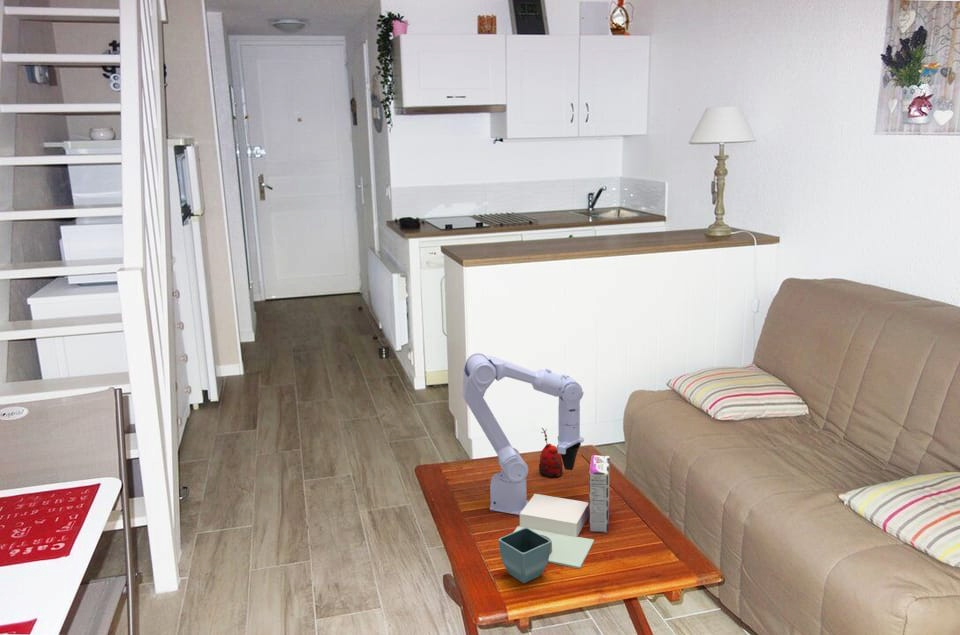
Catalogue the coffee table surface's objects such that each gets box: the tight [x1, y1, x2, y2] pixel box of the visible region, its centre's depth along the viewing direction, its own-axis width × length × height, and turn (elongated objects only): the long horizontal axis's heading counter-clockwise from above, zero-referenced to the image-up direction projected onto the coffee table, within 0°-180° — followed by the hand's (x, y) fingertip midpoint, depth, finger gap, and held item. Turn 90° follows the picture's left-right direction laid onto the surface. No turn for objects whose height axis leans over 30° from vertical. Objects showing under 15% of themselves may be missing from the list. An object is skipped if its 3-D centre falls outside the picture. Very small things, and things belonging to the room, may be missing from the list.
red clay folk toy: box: [538, 427, 564, 478], centre depth 221 cm, size 8×7×15 cm
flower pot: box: [498, 527, 551, 584], centre depth 169 cm, size 9×9×9 cm
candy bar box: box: [588, 454, 611, 534], centre depth 191 cm, size 11×5×16 cm, turn 168°
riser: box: [519, 493, 589, 537], centre depth 193 cm, size 15×12×4 cm
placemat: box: [513, 525, 595, 570], centre depth 181 cm, size 20×13×1 cm, turn 67°
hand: (568, 468), depth 203 cm, fingers closed
